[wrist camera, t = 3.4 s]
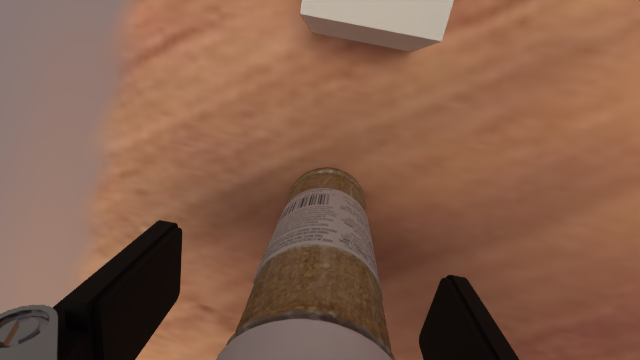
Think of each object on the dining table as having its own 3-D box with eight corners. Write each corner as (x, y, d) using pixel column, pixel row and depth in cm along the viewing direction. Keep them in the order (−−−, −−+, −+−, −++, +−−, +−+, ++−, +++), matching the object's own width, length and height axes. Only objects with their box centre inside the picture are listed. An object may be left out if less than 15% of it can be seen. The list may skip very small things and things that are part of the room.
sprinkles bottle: (296, 239, 19) (207, 569, 6) (282, 170, 18) (131, 414, 5) (370, 231, 18) (435, 573, 6) (362, 159, 17) (422, 402, 4)
